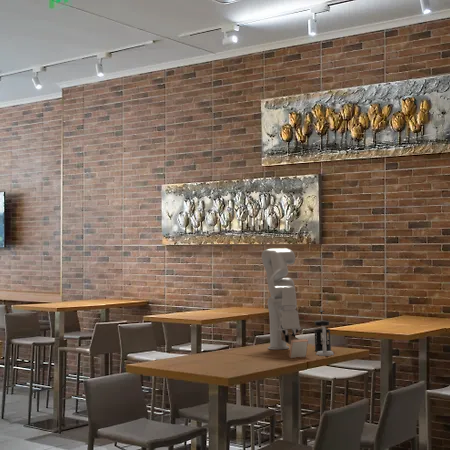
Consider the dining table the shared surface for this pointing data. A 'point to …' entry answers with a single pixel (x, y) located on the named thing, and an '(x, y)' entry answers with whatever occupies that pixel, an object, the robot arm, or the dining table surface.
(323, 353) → the black and grey stand
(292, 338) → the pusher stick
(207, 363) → the dining table surface
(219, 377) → the dining table surface
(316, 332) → the french press
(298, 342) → the tile
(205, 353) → the dining table surface
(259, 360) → the dining table surface
